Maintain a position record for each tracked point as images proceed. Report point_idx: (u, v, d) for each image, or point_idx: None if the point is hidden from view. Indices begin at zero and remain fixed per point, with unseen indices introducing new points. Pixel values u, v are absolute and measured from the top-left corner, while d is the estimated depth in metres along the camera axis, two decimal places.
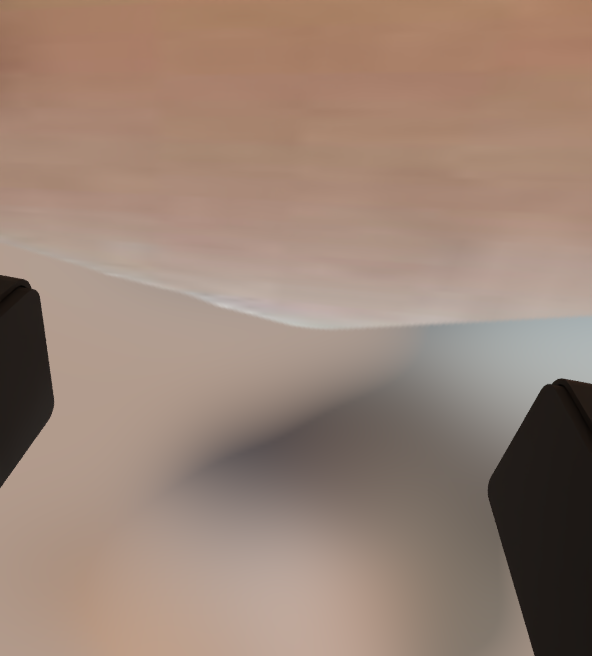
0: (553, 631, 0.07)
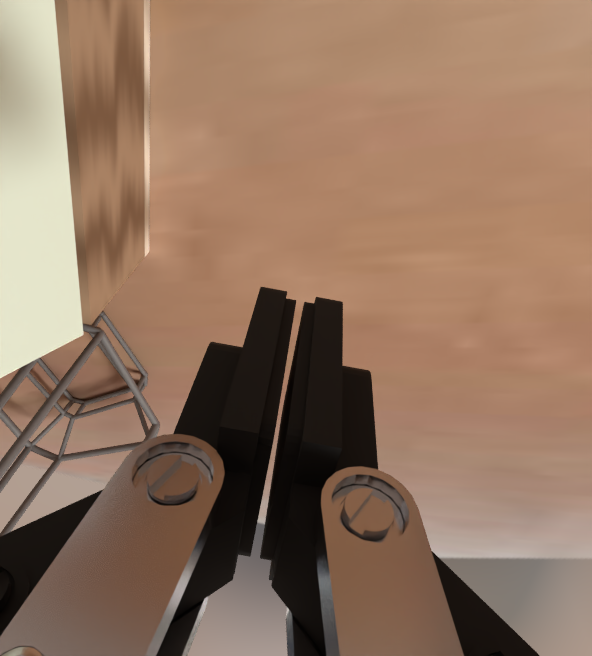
0: (269, 507, 0.08)
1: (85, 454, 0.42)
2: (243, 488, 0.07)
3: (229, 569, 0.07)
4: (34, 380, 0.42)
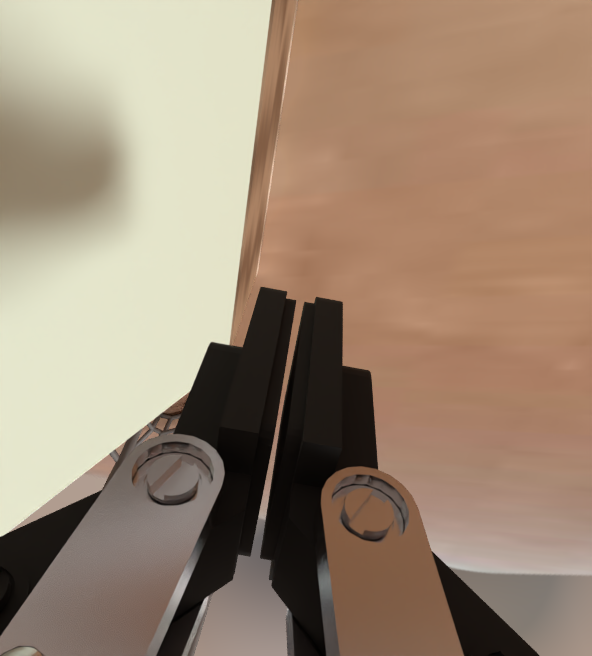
0: (269, 507, 0.08)
1: None
2: (243, 488, 0.07)
3: (229, 569, 0.07)
4: None
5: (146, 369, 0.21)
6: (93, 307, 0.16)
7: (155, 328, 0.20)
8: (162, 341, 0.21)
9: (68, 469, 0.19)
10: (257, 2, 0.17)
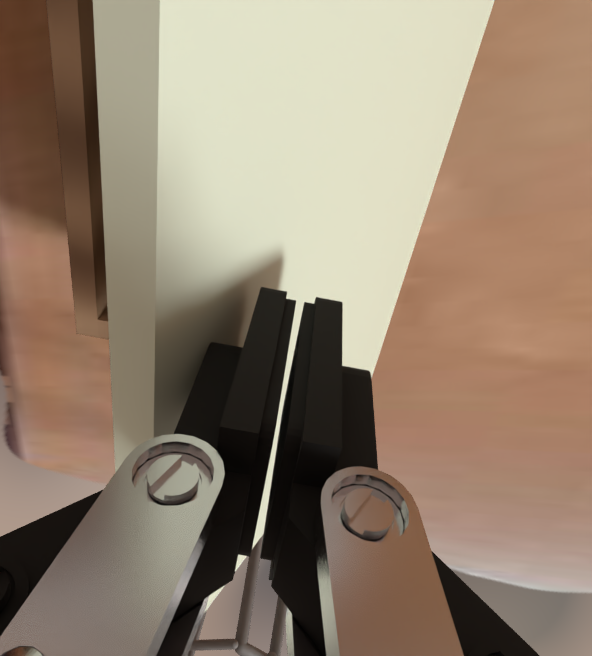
0: (269, 507, 0.08)
1: None
2: (243, 488, 0.07)
3: (229, 569, 0.07)
4: None
5: None
6: None
7: None
8: None
9: (263, 523, 0.18)
10: (472, 52, 0.17)
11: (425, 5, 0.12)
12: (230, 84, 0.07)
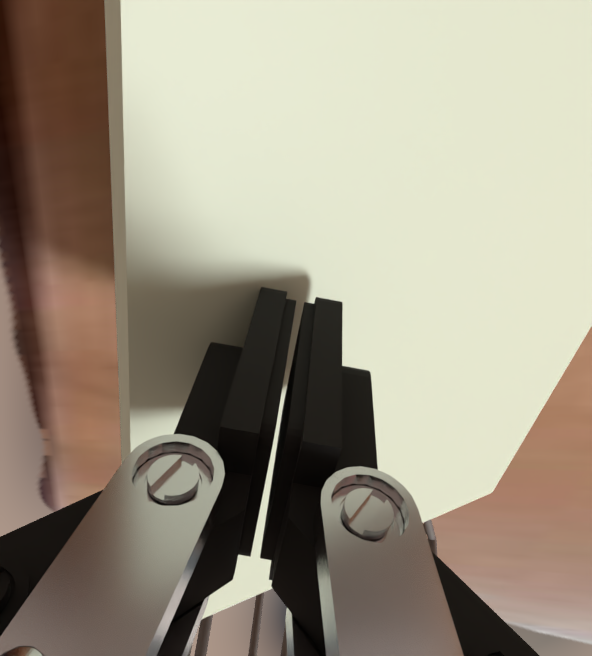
0: (268, 507, 0.08)
1: None
2: (244, 488, 0.07)
3: (230, 569, 0.07)
4: None
5: (412, 485, 0.18)
6: (391, 417, 0.15)
7: (437, 447, 0.17)
8: (439, 460, 0.18)
9: None
10: None
11: (581, 37, 0.10)
12: (221, 81, 0.07)
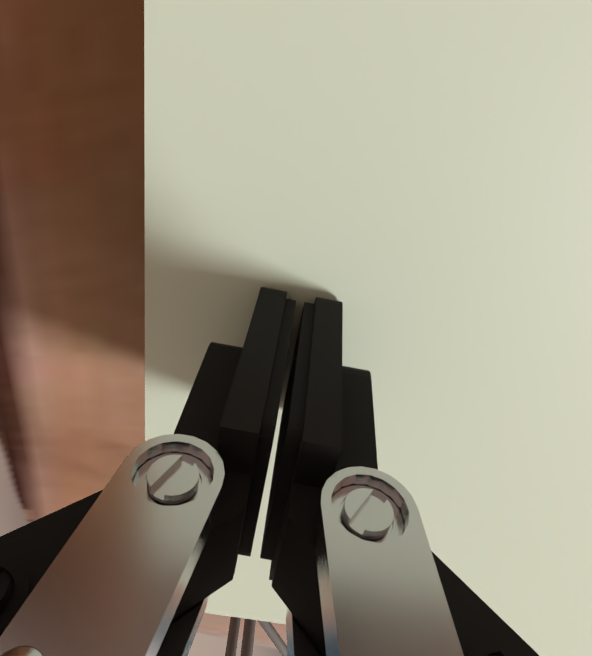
0: (269, 507, 0.08)
1: None
2: (243, 488, 0.07)
3: (229, 569, 0.07)
4: None
5: None
6: (440, 494, 0.13)
7: (514, 563, 0.14)
8: (517, 582, 0.14)
9: None
10: None
11: None
12: (234, 74, 0.08)
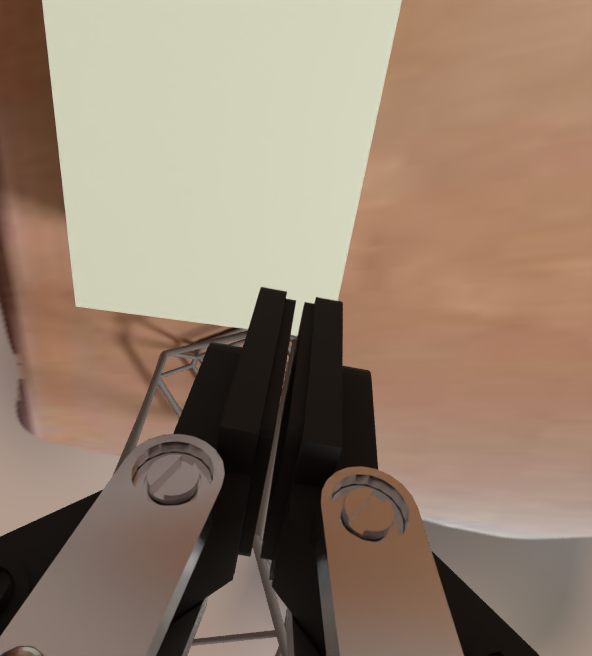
0: (269, 507, 0.08)
1: None
2: (243, 488, 0.07)
3: (229, 569, 0.07)
4: None
5: (238, 281, 0.30)
6: (200, 208, 0.27)
7: (249, 255, 0.29)
8: (255, 269, 0.29)
9: (170, 306, 0.31)
10: (373, 43, 0.23)
11: None
12: (73, 7, 0.23)
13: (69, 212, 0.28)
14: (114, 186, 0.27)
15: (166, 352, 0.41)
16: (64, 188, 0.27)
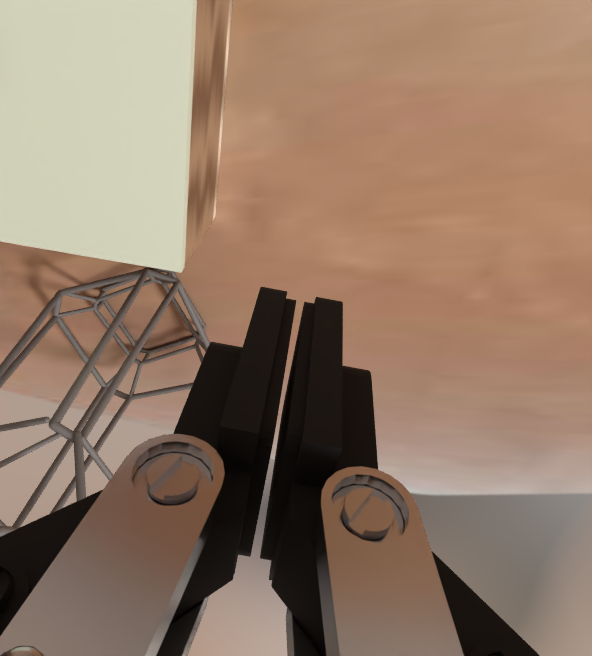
0: (269, 507, 0.08)
1: (153, 392, 0.50)
2: (243, 488, 0.07)
3: (229, 569, 0.07)
4: None
5: (90, 212, 0.33)
6: (45, 140, 0.30)
7: (96, 187, 0.32)
8: (104, 201, 0.32)
9: (32, 235, 0.34)
10: None
11: None
12: None
13: None
14: None
15: (61, 291, 0.44)
16: None
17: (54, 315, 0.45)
